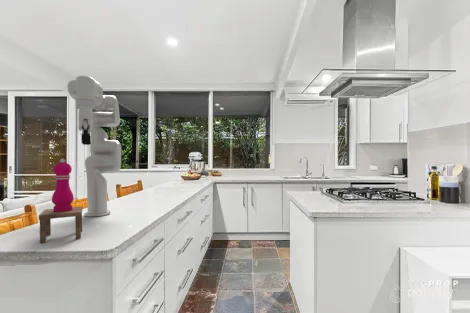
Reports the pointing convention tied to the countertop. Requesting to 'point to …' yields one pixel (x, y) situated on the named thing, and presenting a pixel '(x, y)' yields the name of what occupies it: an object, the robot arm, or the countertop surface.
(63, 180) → the pepper mill
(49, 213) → the walnut stool
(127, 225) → the countertop surface
